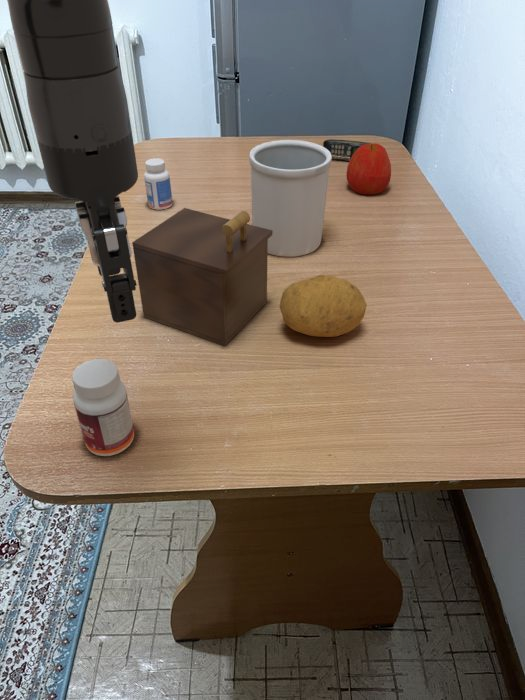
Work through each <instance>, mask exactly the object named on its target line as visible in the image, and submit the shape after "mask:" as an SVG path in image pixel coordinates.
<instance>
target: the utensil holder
mask: <svg viewBox="0 0 525 700" xmlns="http://www.w3.org/2000/svg"><path fill="white" fill-rule="evenodd" d="M248 160H249V165H250V187H251V188H250V189H251V192H250V193H251V225H253V226H257V227H261V228H265V229H269V230H272V236H271V237H270V238H268V254H269V255H272V256H276V257H283V258H293V257H300V256H305V255H309V254H310V253H311V254H312V253H313V252H314V251H316V250H317V249H318V248H319V247H320V245H321V242H322V237H323V230H324V222H325V221H324V220H325V214H326V204H327V195H328V185H329V175H330V167H331V165H332V161H333V159H332V155H331V153H330V152H329V150H327V149H326V148H324V147H323V145H320V144H318V143H315V142H311V141H306V140H301V139H298V140H297V139H277V140H271V141H266V142H262V143H259V144H257V145H255V146H254V147H253V148H252V149H251V150H250V151H249V157H248Z"/></svg>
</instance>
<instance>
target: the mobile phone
mask: <svg viewBox="0 0 525 700" xmlns="http://www.w3.org/2000/svg"><path fill="white" fill-rule="evenodd" d="M364 144H373V143H371V142H366V141H358V140H347V139H331V138H330V139H329V138H328V139H325V140H324V141H323V143H322V146H323V147H324V148H326V149H327V150H329V152H330V153H331V155H335V156H341V157H333V156H332V161H333V160H334V161H342V162H349V161H350V159H351V157H352V155H353V154H354V153H355V151H356V150H357V149H358V148H359V147H360V146H362V145H364ZM343 157H350V158H343Z"/></svg>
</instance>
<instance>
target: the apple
mask: <svg viewBox="0 0 525 700" xmlns="http://www.w3.org/2000/svg"><path fill="white" fill-rule="evenodd" d="M345 177H346V182H347V183H348V186H349V187H350V188H351V189H352V190H353V191H354V192H356V193H358V194H361V195H376V194H380V193H383V192H384V191H385V190H386V189H387V187H389V184H390V182H391V179H392V164H391V160H390V157H389V155H388V152H387V150H386V148H385V147H384V146H383V145H381V144H379V143H372V144H364V145H362V146H360V147H359V148H358V149H357V150H356V151H355V153H354V154H353V155H352V157H351V159H350V161H348V164H347V167H346V175H345Z"/></svg>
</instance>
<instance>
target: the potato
mask: <svg viewBox="0 0 525 700" xmlns="http://www.w3.org/2000/svg"><path fill="white" fill-rule="evenodd" d="M366 309H367V302H366V299H365V297H364V295H363V294H362V292H361V290H360V289H359V288H358V287H357V286H356V285H355V284H353V283H352V282H350V281H349V280H346V279H343V278H340V277H337V276H333V275H331V274H319V275H315V276H312V277H308V278H305V279H301V280H298V281H295V282H293V283H291V284H289V285H288V286H287V287H286V288H285V289H283V292H282V294H281V297H280V302H279V310H280V313H281V315H282V319H283V322H284V323H285V324H286V326H288V327H289V329H291V330H293V331H295V332H298V333H300V334H304V335H307V336H310V337H319V338H320V337H322V338H329V337H331V338H332V337H338V336H339V337H340V336H341V335H345V334H347V333H350V332H352V331H353V330H354V329H355V328H357V327H358V326H359V325H360V324H361V322H362V321H363V319H364V318H365V314H366Z"/></svg>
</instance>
